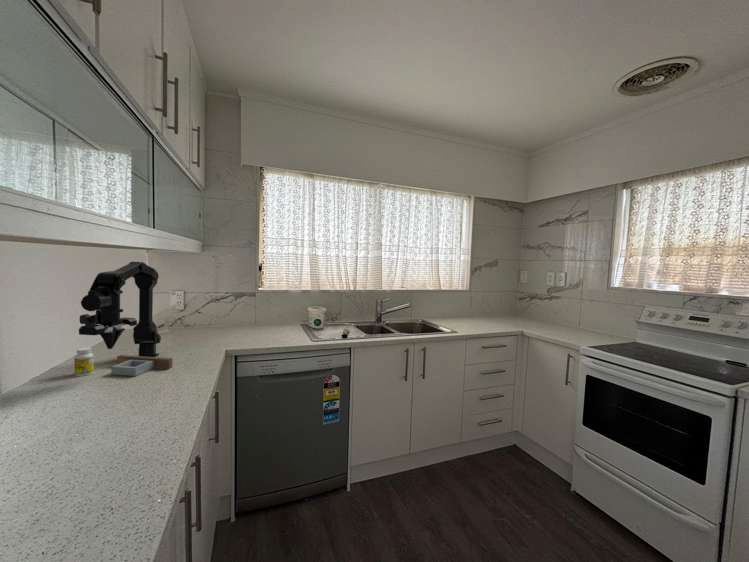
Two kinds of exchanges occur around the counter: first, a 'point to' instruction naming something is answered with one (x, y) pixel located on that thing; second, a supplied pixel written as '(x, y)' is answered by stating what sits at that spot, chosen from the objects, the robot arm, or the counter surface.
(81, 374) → the supplement bottle
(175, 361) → the counter surface
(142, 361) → the socket block
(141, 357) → the rail
